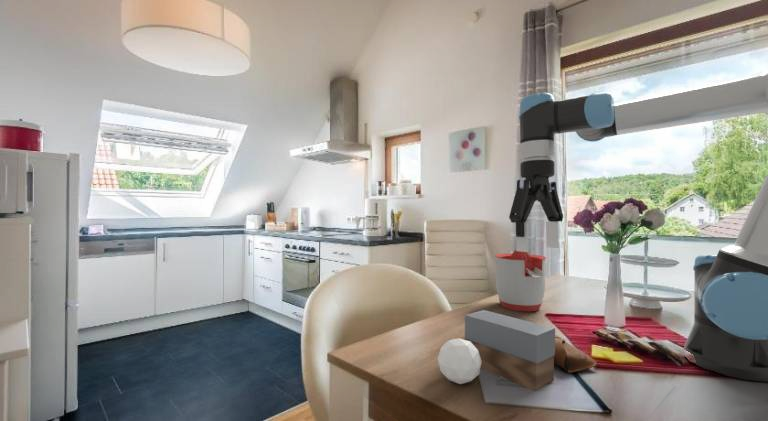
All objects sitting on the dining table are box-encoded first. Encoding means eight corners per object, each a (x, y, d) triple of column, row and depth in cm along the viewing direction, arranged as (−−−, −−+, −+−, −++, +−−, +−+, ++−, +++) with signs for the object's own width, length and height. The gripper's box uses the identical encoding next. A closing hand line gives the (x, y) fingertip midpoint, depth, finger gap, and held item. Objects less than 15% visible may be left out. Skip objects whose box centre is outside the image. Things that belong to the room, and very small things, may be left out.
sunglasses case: (601, 362, 72) (584, 337, 71) (578, 387, 71) (560, 362, 70) (542, 332, 90) (527, 312, 89) (522, 352, 88) (507, 331, 87)
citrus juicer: (514, 317, 108) (514, 250, 108) (486, 303, 125) (486, 245, 125) (561, 314, 111) (561, 249, 111) (527, 300, 128) (527, 244, 128)
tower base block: (553, 381, 68) (553, 354, 68) (535, 392, 64) (535, 364, 64) (482, 355, 81) (482, 332, 81) (463, 362, 77) (463, 339, 77)
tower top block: (554, 354, 68) (555, 328, 68) (536, 363, 64) (536, 335, 64) (483, 332, 81) (483, 309, 81) (464, 338, 77) (464, 315, 77)
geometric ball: (452, 369, 73) (452, 329, 73) (489, 382, 67) (489, 339, 67) (429, 382, 67) (429, 338, 67) (467, 397, 62) (467, 350, 62)
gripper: (548, 166, 98) (549, 245, 98) (492, 158, 82) (493, 252, 82) (577, 163, 92) (578, 247, 92) (522, 153, 76) (524, 254, 76)
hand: (538, 249), depth 87 cm, fingers open, 13 cm apart
